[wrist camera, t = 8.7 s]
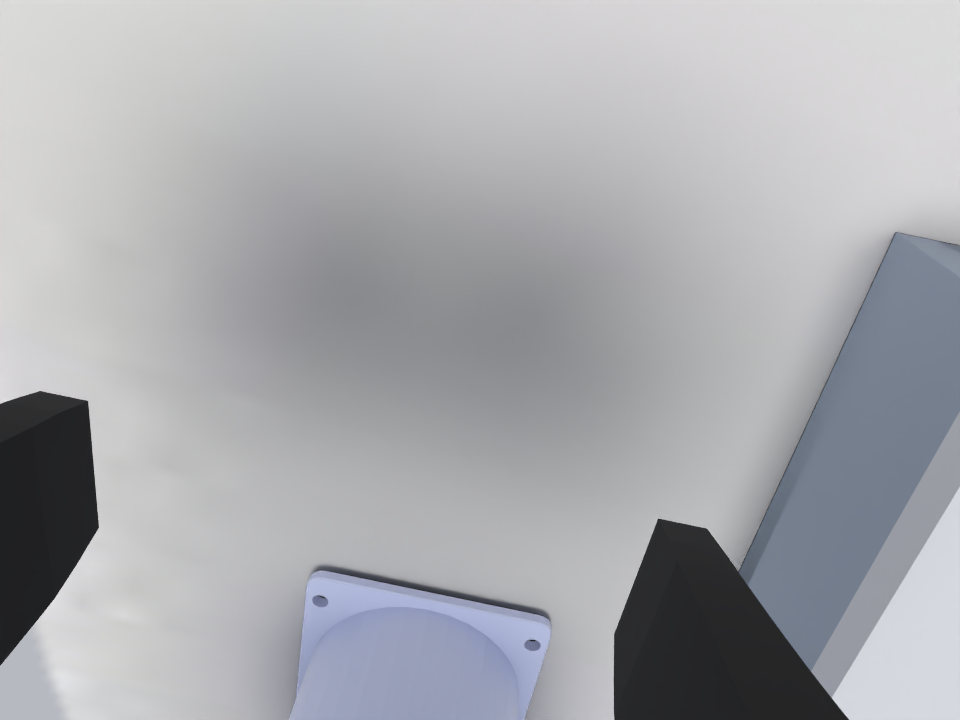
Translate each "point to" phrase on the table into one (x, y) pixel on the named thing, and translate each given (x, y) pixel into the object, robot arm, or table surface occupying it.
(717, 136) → the table surface
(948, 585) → the coin box
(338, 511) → the table surface
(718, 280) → the table surface
